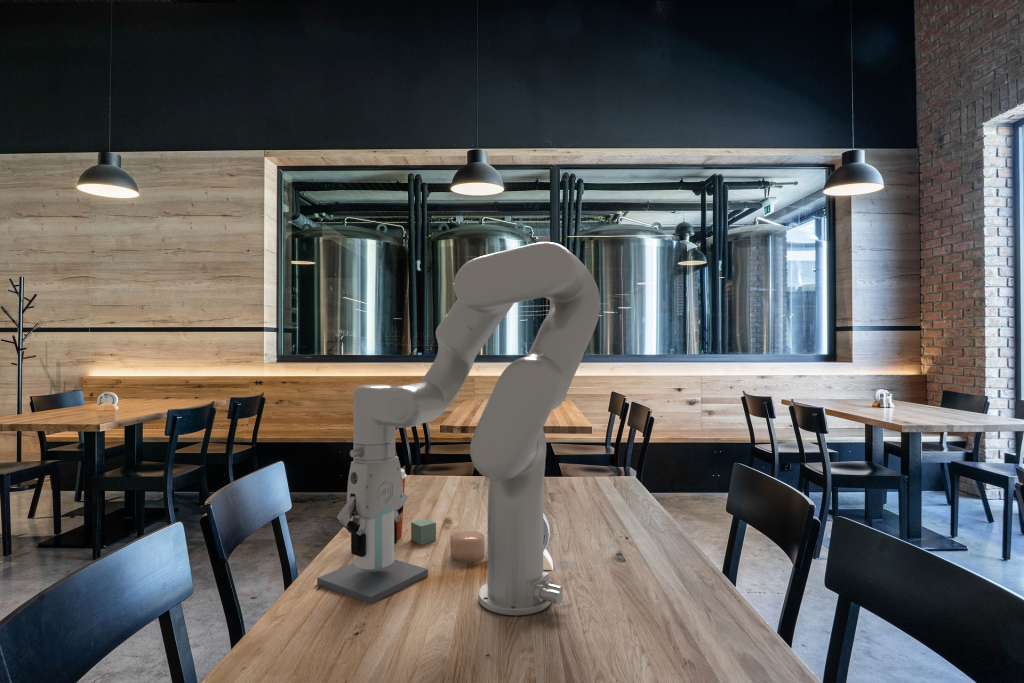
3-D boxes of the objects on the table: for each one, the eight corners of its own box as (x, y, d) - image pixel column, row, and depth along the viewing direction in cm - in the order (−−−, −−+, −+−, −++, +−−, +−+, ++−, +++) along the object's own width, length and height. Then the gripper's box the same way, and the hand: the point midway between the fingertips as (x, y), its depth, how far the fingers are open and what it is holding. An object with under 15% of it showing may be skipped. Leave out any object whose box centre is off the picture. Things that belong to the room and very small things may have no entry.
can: (352, 561, 104) (352, 497, 104) (390, 556, 107) (390, 493, 107) (357, 575, 97) (357, 507, 97) (397, 569, 100) (397, 503, 100)
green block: (436, 540, 123) (436, 522, 123) (420, 544, 120) (420, 526, 120) (426, 536, 126) (426, 518, 126) (411, 539, 123) (411, 522, 123)
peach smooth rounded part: (491, 554, 115) (491, 535, 115) (470, 565, 109) (470, 545, 109) (464, 547, 119) (464, 529, 119) (443, 558, 113) (443, 538, 113)
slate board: (427, 575, 104) (427, 569, 104) (370, 604, 92) (370, 597, 92) (375, 559, 112) (375, 553, 112) (317, 584, 100) (317, 577, 100)
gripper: (350, 462, 93) (350, 568, 93) (422, 446, 107) (422, 538, 107) (322, 457, 97) (321, 559, 97) (394, 443, 111) (394, 531, 111)
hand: (374, 547), depth 102 cm, fingers closed on can, 6 cm apart
